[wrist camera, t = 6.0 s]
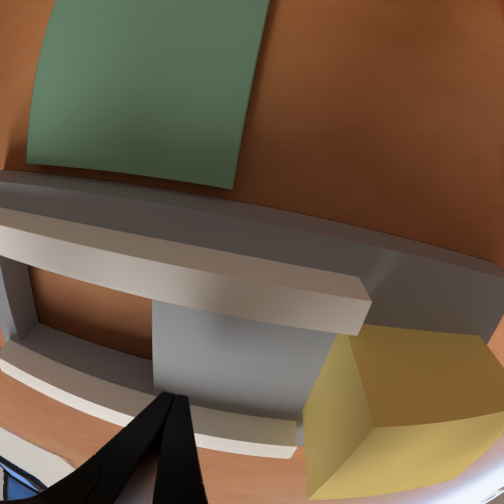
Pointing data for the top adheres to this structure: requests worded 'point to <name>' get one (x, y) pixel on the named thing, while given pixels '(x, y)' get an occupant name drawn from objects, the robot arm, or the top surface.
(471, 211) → the top surface
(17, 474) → the handheld game console
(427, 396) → the brick
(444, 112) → the top surface
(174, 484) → the robot arm
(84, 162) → the felt mat
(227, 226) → the channel deck
